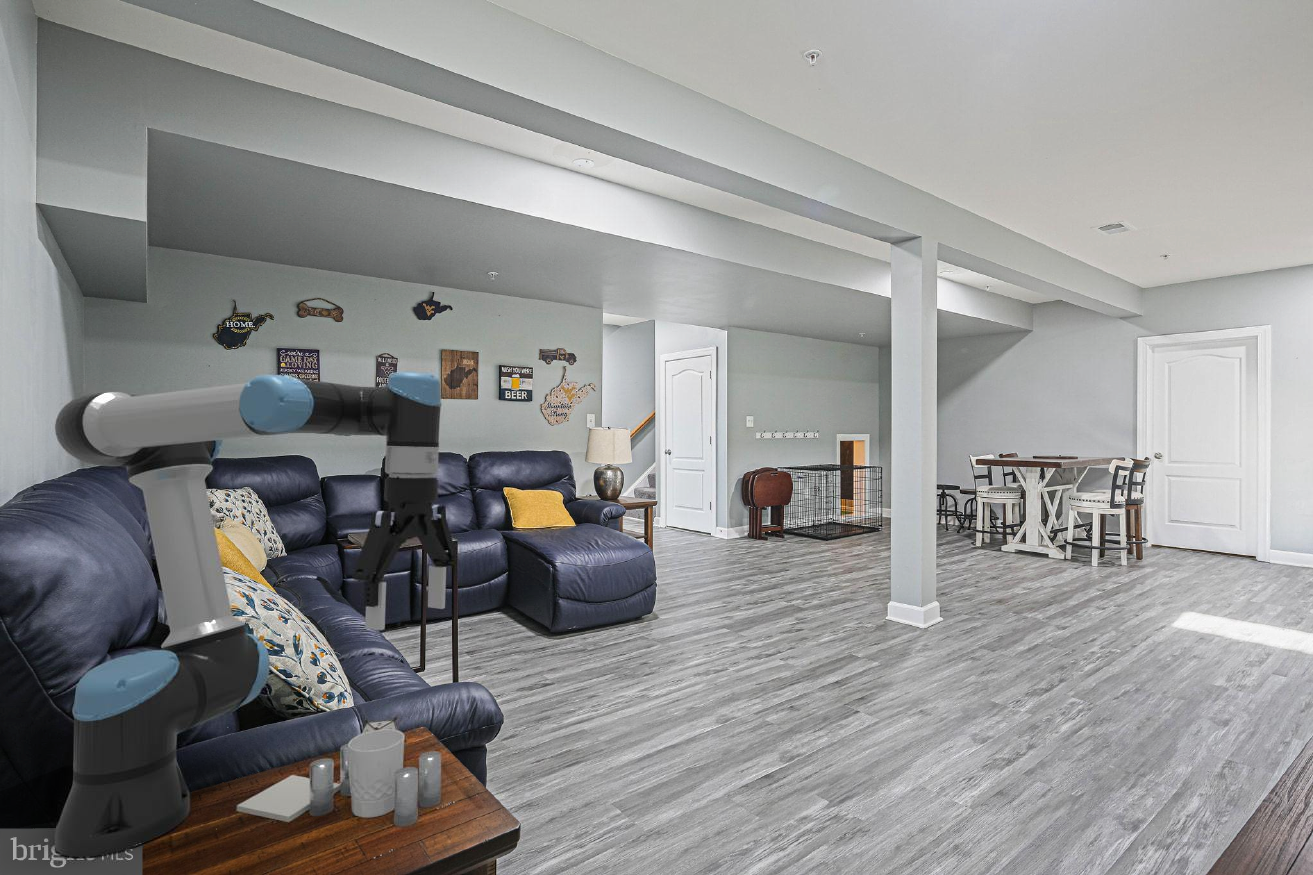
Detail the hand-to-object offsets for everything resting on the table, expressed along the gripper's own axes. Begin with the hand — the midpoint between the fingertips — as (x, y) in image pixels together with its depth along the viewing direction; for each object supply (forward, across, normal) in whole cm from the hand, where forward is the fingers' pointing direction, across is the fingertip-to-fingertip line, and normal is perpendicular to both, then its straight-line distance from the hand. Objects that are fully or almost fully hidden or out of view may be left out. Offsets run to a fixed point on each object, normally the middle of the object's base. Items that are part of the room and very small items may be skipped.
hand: (407, 617), depth 100 cm
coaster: (+29, -3, +19) cm, 35 cm away
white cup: (+29, 0, +5) cm, 30 cm away
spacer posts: (+29, 0, +5) cm, 29 cm away
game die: (+29, +10, +13) cm, 34 cm away
